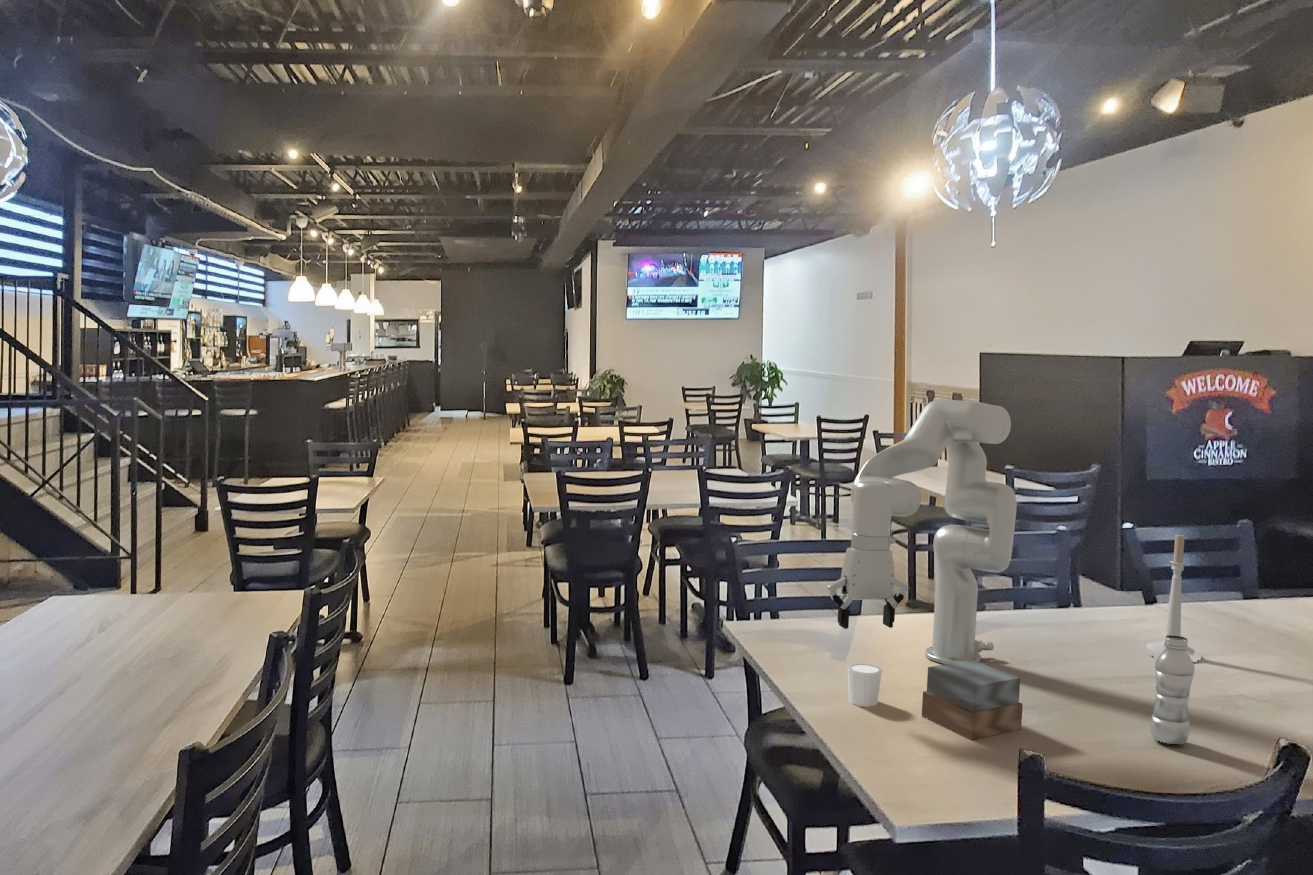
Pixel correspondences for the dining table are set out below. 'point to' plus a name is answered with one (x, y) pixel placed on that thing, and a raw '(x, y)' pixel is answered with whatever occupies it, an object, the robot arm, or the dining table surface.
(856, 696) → the white grey-rimmed cylinder
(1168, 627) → the candlestick
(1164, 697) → the plastic bottle
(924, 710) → the grey and wood block
